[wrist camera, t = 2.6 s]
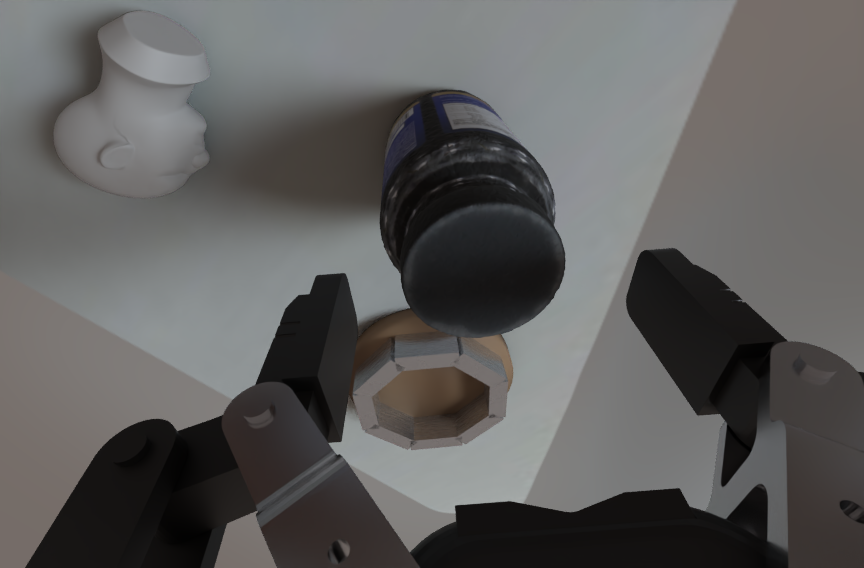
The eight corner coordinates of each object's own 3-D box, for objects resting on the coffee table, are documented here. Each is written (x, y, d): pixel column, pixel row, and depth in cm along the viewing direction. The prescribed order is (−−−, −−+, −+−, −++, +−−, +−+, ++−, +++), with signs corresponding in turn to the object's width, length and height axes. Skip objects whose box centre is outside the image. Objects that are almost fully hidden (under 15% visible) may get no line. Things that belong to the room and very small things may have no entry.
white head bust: (180, 185, 21) (58, 129, 18) (259, 68, 18) (128, -29, 15) (168, 239, 19) (21, 184, 15) (257, 113, 15) (97, 7, 12)
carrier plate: (363, 421, 33) (360, 461, 30) (332, 315, 26) (323, 354, 23) (504, 408, 33) (514, 446, 30) (513, 298, 26) (526, 335, 23)
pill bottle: (419, 225, 22) (430, 378, 13) (362, 124, 19) (326, 241, 10) (522, 177, 21) (610, 313, 12) (481, 60, 17) (563, 128, 9)
